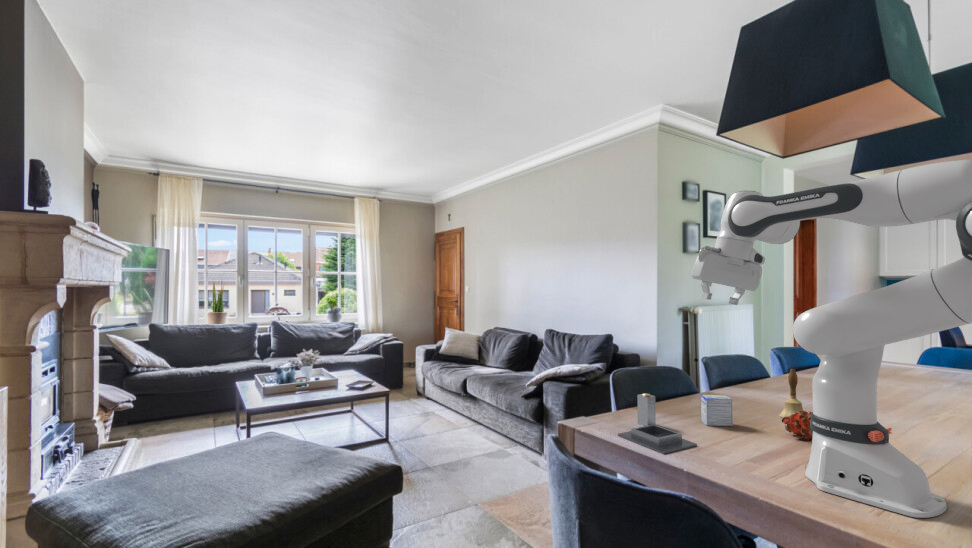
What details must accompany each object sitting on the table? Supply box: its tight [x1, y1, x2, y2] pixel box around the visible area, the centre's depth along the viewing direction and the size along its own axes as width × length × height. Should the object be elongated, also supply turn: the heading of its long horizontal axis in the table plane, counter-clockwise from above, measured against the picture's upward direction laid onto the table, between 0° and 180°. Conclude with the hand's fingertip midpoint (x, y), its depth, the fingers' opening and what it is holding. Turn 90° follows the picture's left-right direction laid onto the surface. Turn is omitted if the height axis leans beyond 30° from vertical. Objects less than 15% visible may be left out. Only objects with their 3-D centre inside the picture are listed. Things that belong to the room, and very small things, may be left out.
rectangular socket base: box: [617, 424, 698, 455], centre depth 123 cm, size 16×13×3 cm
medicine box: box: [700, 394, 734, 427], centre depth 139 cm, size 8×4×9 cm, turn 84°
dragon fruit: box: [781, 410, 813, 442], centre depth 126 cm, size 8×8×12 cm
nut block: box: [636, 392, 657, 426], centre depth 138 cm, size 4×4×9 cm
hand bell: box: [778, 368, 804, 419], centre depth 147 cm, size 8×8×16 cm
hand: (719, 301), depth 119 cm, fingers open, 8 cm apart
